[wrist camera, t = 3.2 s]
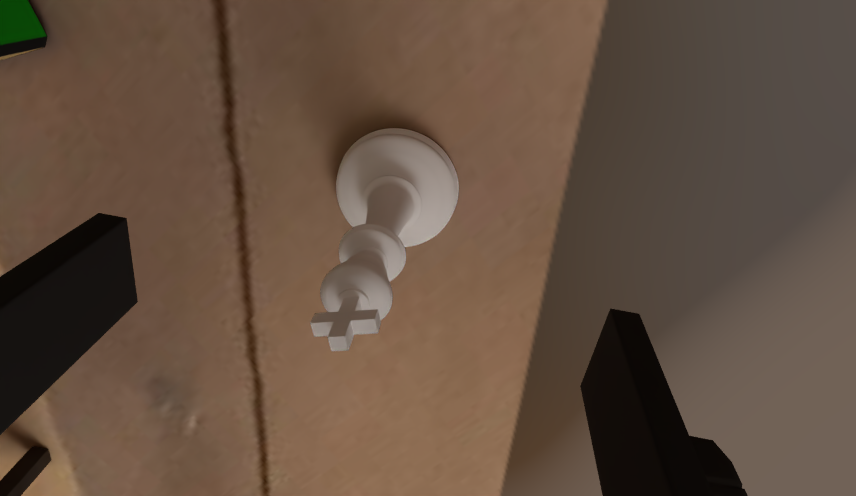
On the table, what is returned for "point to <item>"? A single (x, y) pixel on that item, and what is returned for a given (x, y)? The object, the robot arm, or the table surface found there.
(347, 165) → the chess piece
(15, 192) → the table surface
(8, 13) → the puzzle cube
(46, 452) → the toy table
